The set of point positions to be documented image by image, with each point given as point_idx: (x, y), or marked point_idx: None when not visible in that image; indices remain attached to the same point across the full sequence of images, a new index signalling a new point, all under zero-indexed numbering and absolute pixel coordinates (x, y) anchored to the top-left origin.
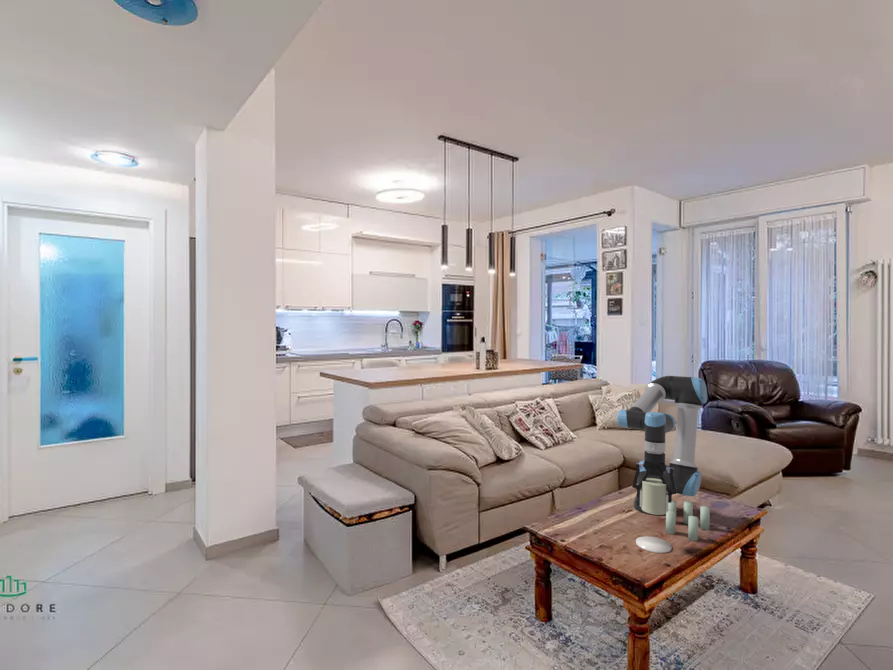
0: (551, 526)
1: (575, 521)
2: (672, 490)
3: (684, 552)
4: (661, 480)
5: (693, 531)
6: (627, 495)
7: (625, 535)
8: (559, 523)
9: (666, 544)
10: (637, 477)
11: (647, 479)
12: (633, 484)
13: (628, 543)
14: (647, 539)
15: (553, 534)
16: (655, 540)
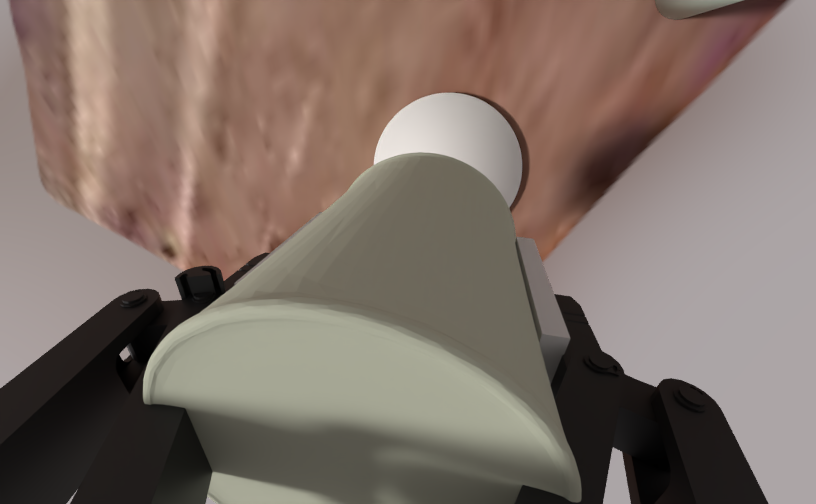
0: (78, 155)
1: (102, 48)
2: (632, 433)
3: (571, 195)
4: (487, 404)
5: (714, 8)
6: None
7: (327, 116)
8: (76, 109)
9: (501, 160)
10: (67, 497)
11: (209, 394)
12: (136, 373)
13: None
14: (419, 138)
15: (125, 219)
16: (455, 134)
